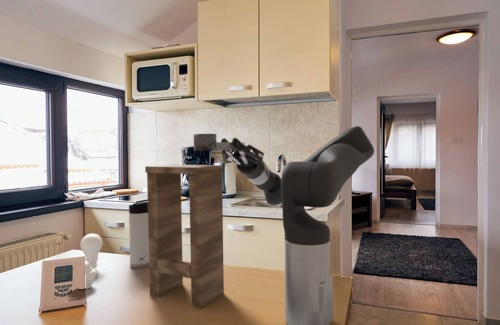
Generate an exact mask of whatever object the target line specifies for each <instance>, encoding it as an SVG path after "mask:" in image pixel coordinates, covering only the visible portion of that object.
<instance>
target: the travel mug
mask: <svg viewBox="0 0 500 325" xmlns="http://www.w3.org/2000/svg"><path fill="white" fill-rule="evenodd" d="M128 222H129V223H128V225H129V226H128V227H129V230H128V231H129V260H130V261H129V264H130V268H133V269H143V268H146V267H149V236H148V201H141V202H136V203H135V202H134V203H132V204H129V205H128Z"/></svg>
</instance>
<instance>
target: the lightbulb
mask: <svg viewBox="0 0 500 325" xmlns="http://www.w3.org/2000/svg"><path fill="white" fill-rule="evenodd" d="M103 243H104V242H103V239H102V237H101V236H100V235H99V234H97V233H88V234H86V235H85V236H83V238H82V239H81V240H80V243H79V244H80V246H79V247H80V249H81V251H82V253H83V254H84V256H85V262H89V263H90V264H91V267H92V268H93V269H96V268H97V267H98V266H97V265H98V260H99V259H98V258H99V254H100V251H101V250H102V246H103Z"/></svg>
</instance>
